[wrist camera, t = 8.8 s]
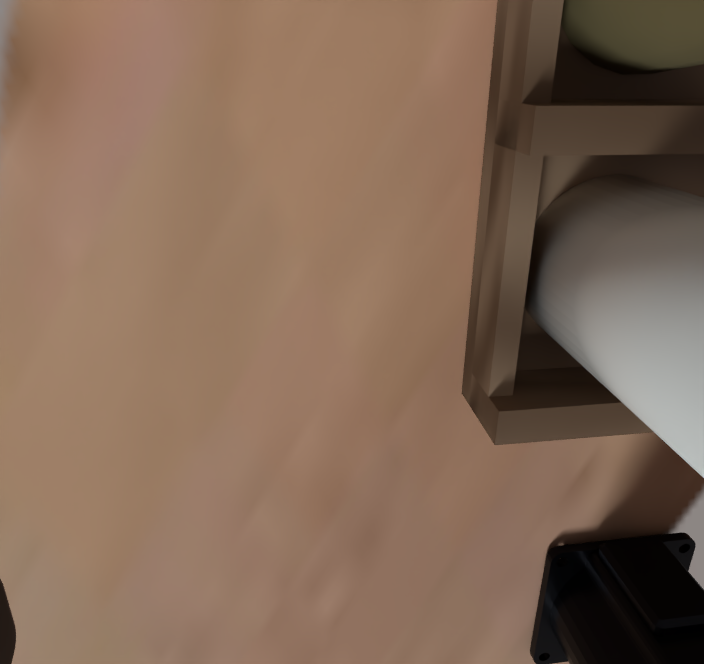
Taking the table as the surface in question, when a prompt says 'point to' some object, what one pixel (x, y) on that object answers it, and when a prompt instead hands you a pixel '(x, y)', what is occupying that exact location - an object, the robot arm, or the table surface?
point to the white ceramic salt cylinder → (629, 297)
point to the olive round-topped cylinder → (637, 33)
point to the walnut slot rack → (539, 192)
